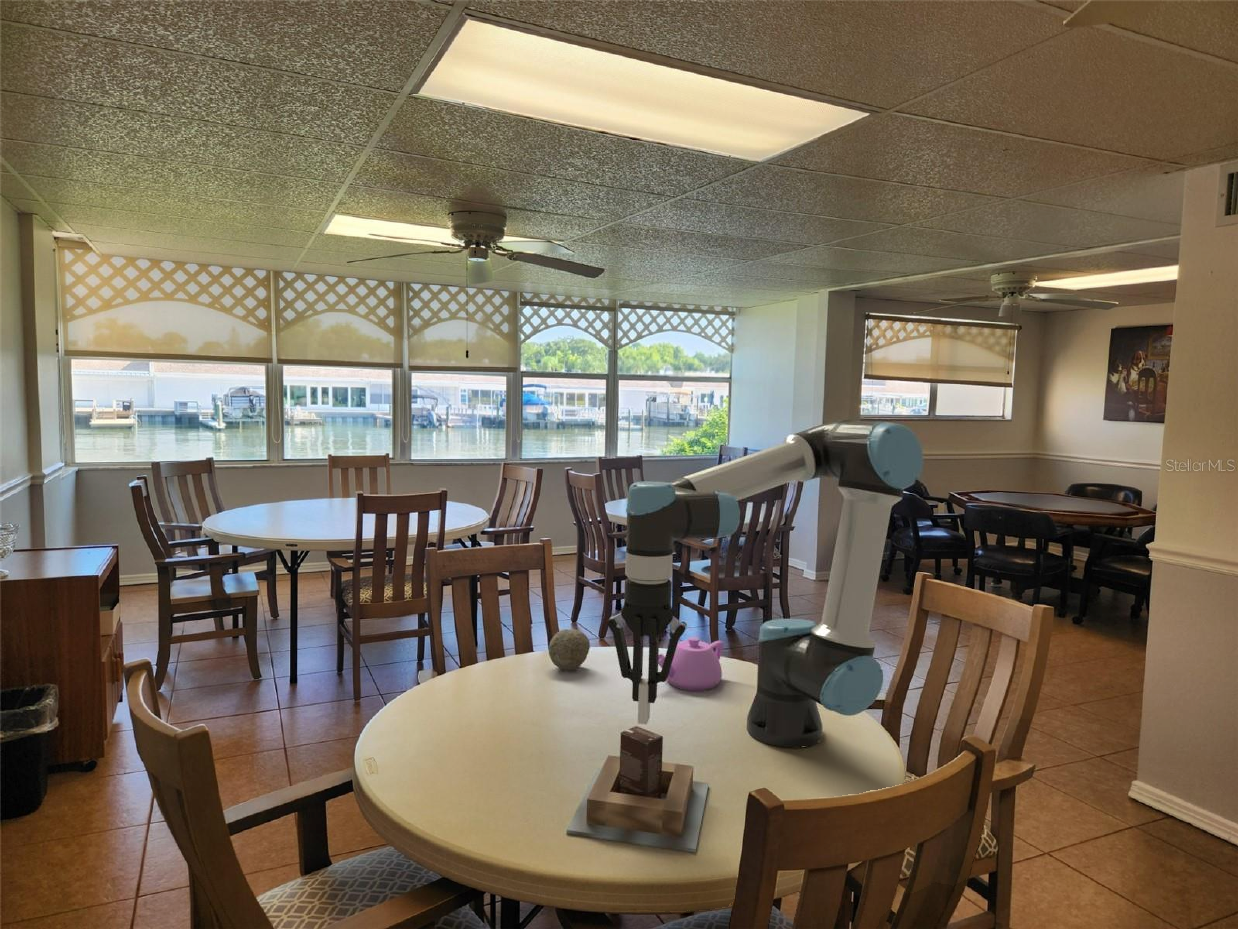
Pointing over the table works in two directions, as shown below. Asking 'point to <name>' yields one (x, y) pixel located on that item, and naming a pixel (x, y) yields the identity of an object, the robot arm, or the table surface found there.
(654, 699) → the robot arm
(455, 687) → the table surface
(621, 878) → the table surface
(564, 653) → the decorative stone
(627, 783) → the box
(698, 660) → the teapot
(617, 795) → the socket
